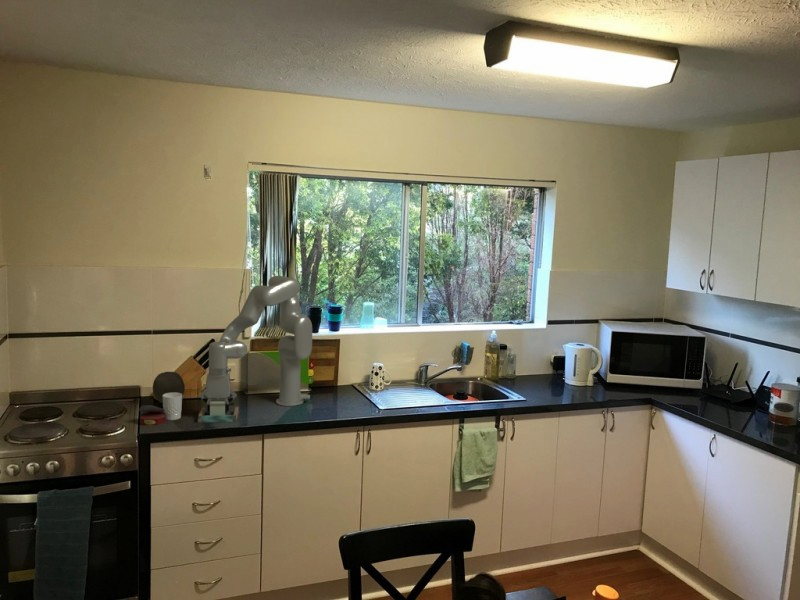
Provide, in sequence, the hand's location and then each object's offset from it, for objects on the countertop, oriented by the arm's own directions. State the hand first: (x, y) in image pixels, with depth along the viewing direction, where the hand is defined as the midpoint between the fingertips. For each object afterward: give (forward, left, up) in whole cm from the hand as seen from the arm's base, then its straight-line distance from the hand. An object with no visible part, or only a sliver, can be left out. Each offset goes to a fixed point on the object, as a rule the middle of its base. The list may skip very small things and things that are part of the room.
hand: (218, 412), depth 273 cm
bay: (0, -2, -3) cm, 3 cm away
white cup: (+19, -2, -3) cm, 19 cm away
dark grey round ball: (+24, -22, -3) cm, 33 cm away
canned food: (+26, +3, -3) cm, 26 cm away
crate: (0, 0, -1) cm, 1 cm away
